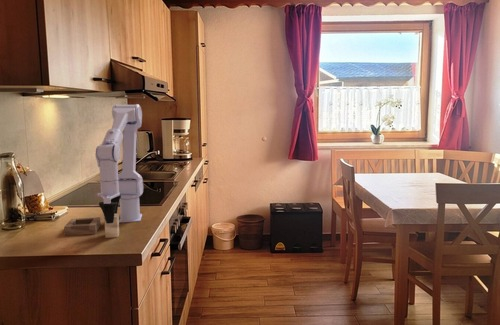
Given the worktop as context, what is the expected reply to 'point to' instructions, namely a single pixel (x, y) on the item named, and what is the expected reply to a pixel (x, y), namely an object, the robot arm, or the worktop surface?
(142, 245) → the worktop surface
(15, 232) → the worktop surface
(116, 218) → the birch post
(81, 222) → the walnut holder
